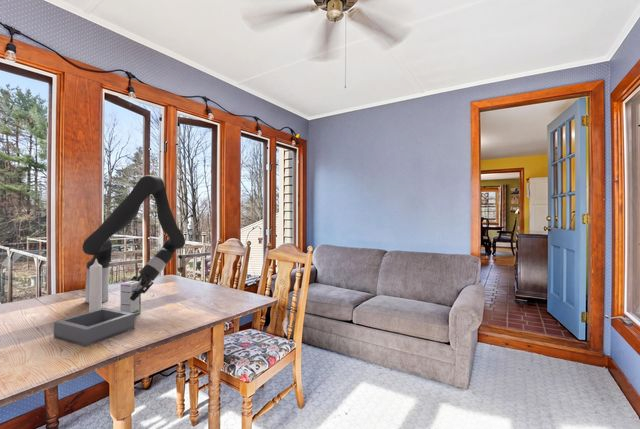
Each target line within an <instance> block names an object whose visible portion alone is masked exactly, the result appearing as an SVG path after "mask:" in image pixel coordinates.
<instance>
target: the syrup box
mask: <svg viewBox="0 0 640 429" xmlns="http://www.w3.org/2000/svg"><path fill="white" fill-rule="evenodd" d="M138 284H139V281H130V280H129V281H126V282H123V283H120V285H119V286H120V291H119V292H120V294H119V295H120V297H119V298H120V300H119V302H120V304H119V306H120V307H119V308H120V309H119V311H124V312H129V313H134V314H135V315H137V314H140V313H141V312H142V303H141V302H142V297H141V296H142V294H140V295H139V296H138V297H137V298H136V299H135V300H134V301H132V300H131V299H130V297H131V296H132V295H133V294H134V292H135V291H136V290H137V288H138V287H137V286H138ZM136 292H137V291H136Z"/></svg>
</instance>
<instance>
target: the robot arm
mask: <svg viewBox="0 0 640 429" xmlns="http://www.w3.org/2000/svg"><path fill="white" fill-rule="evenodd" d="M151 195H152V197H153V199H154V202H155V205H156V213H157V219H158V223H159V225H160V227H161V229H162V232H163V233H165V234H167V236H168V238H167V239H166V241H165V242H164V243H163V245H162V246H161V248H160V249H159V250H158V251H157V252H156V254H155V255H154V256H153V257H152V258H151V259H149V260H148V262H146V264H145V265H144V266H143V267H142V268H141V269H140V271H139V275H138V276H136V275H134V276H132V278H131V279H130V280H129V281H139V284H138V286H137V287H138V288H137V290H136V291H137V292H136V291H135V292H134V294H133V295H132V296H131V297H130V299H131V300H132V301H134V300H135V299H136V298H137V297H138V296H139V295H140V294H141V295H142V294H146V293H147V291H148V290H149V289H151V287H152V286H153V284H154V282H153V281H155V279H156V278H157V277H158V276H159V275H160V274H161V273H162V271H163V270H164V269H165V267H166V266H167V264H169V263H170V261H171V260H172V258H173V255H174V253H176V251H177V250H179V249H183V248H184V247H185V245H186V238H185V235H184V234H183V232H182V231H181V229H180V228H179V226H178V225H177V223H176V220H175V218H174V215H173V212H172V209H171V207H170V202H169V199H168V196H167V190H166V185H165V183H164V180H163V178H162V177H160V176H158V175H150V174H147V175H144V176H141V178H140V179H139V180H138V181H137V183H136V184H135V185H134V186H133V188H132V190H131V191H130V192H129V194H128V195H127V196H126V197H125V198H123V200H122V201H121V202H120V204H118V206H116V207H115V208H114V210H113V211H112V212H111V214H109V216H108V217H107V218H106V219H105V220H104V222H102V224H101V225H100V226H99V227H97V229H96V230H94V231H93V232H92V233H91V234H90V235H89V236H88V237H87V238H86V239H85V240H84V241H83V243H82V251H83V253H84V254H85V255H88V256H93V257H92V258H91V259H90V260H89V261H88V262H87V263H86V282H85V290H84V291H85V298H84V299H85V302H86V304H89V282H90V266H92V265H93V264H94V262H95V259H97V262H98V264H100V265H102V303H105V302H107V301H109V295H110V294H109V291H110V290H109V285H110V263H111V261H112V251H113V245H112V243H113V242H112V240H111V239H110V238H111V237H112V236H114V235H116V234H117V233H119V232H120V231H121V230H124V229H125V228H126V227H128V226H129V225H130V223H131V222H133V220H134V219H135V218H136V217H137V215H138V213H139V210H140V208H141V206H142V204H144V201H146V199H147V198H149V197H150V196H151Z"/></svg>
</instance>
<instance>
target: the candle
mask: <svg viewBox="0 0 640 429" xmlns="http://www.w3.org/2000/svg"><path fill="white" fill-rule="evenodd" d="M88 304H89V305H88V312H90V311H94V310H97V309H101V308H103V305H102V304H103V302H102V265H100V264H98V262H97V259H95V262H94V264H93V265H92V266H90V282H89V303H88Z"/></svg>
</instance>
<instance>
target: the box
mask: <svg viewBox="0 0 640 429" xmlns="http://www.w3.org/2000/svg"><path fill="white" fill-rule="evenodd" d="M135 315H136V314H134V313H129V312H124V311H120V309H119V310H118V309H114V308H109V307H102V308H101V309H97V310H94V311H90V312H89V311H87V312H86V311H85V312H83V313H80V314H76V315H72V316H69V317H66V318H62V319H59V320H54V322H53V339H57V340H61V341H64V342H66V343H71V344H73V345H77V346H78V345H79V346H81V347H85V348H87V347H90V346H92V345H95V344H97V343H100V342H102V341H105V340H108V339H111V338H113V337H115V336H116V337H117V336H118V335H121V334H123V333H126V332H130V331H132V330H134V329H135V324H136V323H135Z"/></svg>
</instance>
